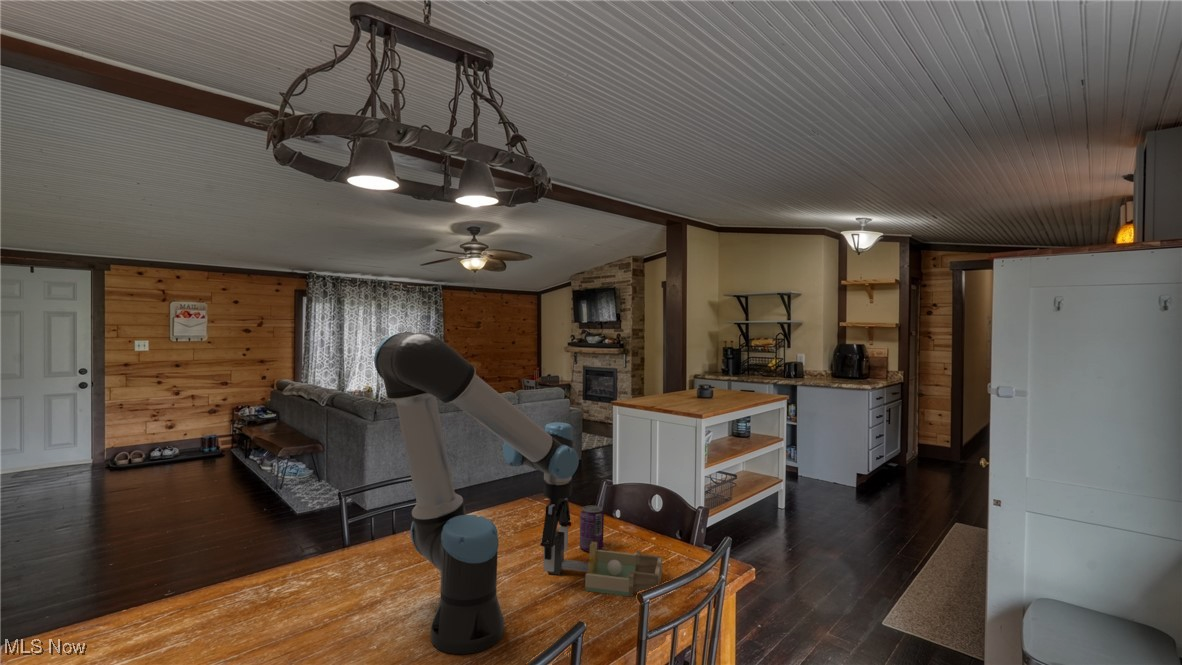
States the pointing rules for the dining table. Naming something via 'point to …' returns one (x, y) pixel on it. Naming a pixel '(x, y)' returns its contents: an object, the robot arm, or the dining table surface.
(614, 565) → the ball
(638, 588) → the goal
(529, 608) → the dining table surface
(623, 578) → the pitch
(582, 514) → the beverage can
